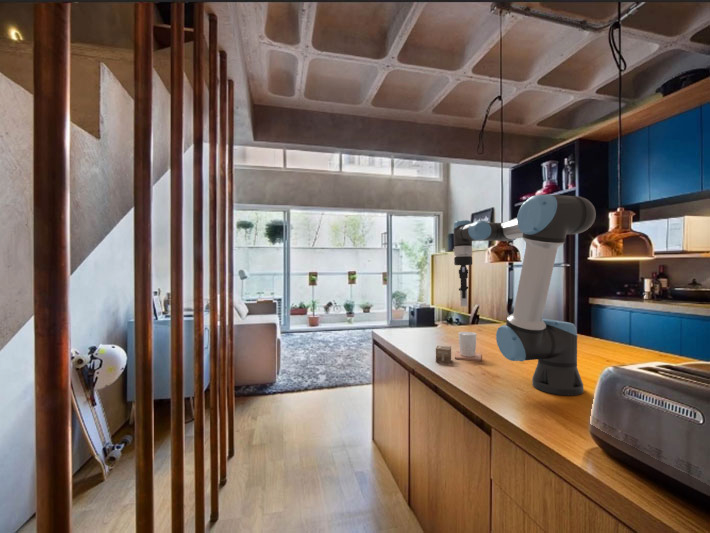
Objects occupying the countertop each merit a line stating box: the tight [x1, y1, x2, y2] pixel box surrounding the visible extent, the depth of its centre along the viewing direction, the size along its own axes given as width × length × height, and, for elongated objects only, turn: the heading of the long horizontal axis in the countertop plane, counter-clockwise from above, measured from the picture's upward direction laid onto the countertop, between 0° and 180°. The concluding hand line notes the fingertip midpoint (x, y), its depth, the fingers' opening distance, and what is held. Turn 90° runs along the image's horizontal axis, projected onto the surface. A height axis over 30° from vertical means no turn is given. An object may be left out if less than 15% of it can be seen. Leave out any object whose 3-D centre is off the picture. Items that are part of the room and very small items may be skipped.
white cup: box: [458, 331, 477, 357], centre depth 159 cm, size 8×8×10 cm
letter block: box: [435, 345, 452, 364], centre depth 153 cm, size 6×6×6 cm
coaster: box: [454, 351, 482, 362], centre depth 159 cm, size 11×11×1 cm
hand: (464, 304), depth 152 cm, fingers open, 13 cm apart
